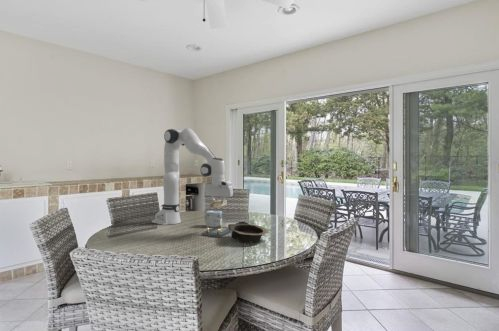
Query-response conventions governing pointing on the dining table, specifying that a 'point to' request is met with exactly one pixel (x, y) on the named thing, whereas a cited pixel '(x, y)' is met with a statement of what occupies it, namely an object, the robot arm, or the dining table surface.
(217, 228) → the chassis
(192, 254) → the dining table surface
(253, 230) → the stone bowl
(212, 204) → the birch board
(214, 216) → the light bulb box
